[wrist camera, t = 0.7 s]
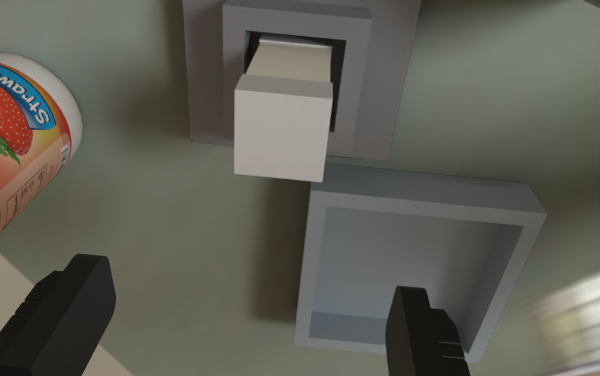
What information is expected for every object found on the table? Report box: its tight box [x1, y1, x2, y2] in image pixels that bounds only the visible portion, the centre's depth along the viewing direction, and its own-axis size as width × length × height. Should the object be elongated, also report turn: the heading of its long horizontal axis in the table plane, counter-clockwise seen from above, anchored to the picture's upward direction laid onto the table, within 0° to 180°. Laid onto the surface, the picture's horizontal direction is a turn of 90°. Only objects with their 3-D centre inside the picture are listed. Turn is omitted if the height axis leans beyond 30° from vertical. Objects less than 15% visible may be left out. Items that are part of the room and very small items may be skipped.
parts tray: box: [294, 163, 548, 364], centre depth 38 cm, size 16×16×4 cm
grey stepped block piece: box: [183, 0, 422, 161], centre depth 29 cm, size 14×12×5 cm
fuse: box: [234, 32, 333, 182], centre depth 25 cm, size 4×4×10 cm
